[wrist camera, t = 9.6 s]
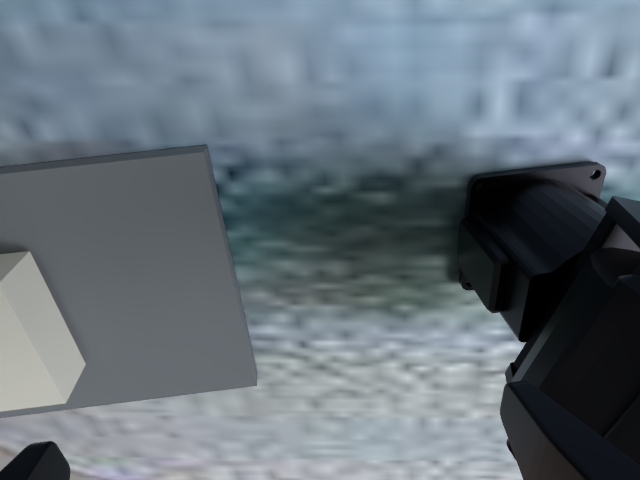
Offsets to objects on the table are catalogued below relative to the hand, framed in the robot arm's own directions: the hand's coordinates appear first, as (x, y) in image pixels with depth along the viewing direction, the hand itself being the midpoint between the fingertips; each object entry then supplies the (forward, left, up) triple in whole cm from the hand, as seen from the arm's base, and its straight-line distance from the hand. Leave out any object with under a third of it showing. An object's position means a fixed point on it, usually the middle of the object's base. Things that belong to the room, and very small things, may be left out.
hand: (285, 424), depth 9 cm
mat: (+11, +5, -13) cm, 18 cm away
